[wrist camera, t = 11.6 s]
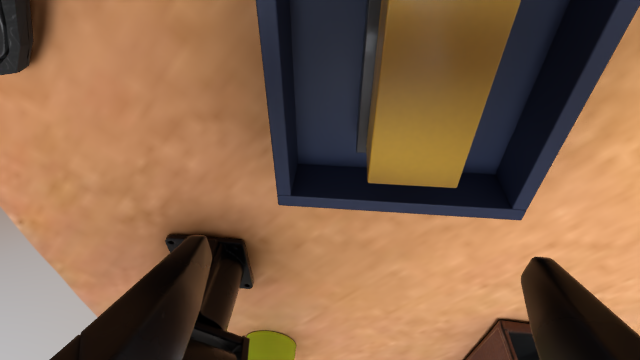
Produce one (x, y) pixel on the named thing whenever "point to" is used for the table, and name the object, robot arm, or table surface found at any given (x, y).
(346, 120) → the blue tray
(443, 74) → the duster
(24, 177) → the table surface
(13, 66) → the hairbrush
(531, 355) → the letter holder
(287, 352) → the soap dispenser
